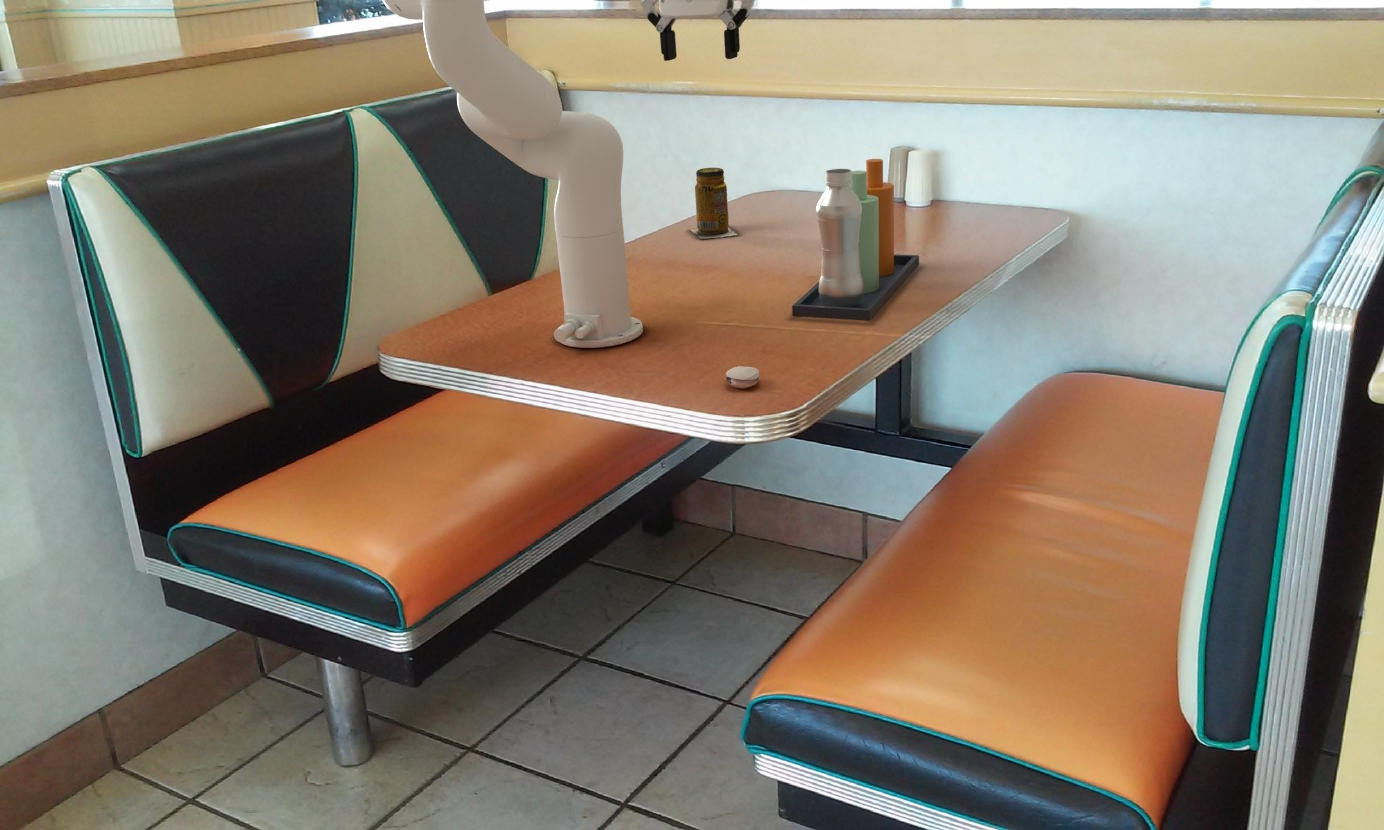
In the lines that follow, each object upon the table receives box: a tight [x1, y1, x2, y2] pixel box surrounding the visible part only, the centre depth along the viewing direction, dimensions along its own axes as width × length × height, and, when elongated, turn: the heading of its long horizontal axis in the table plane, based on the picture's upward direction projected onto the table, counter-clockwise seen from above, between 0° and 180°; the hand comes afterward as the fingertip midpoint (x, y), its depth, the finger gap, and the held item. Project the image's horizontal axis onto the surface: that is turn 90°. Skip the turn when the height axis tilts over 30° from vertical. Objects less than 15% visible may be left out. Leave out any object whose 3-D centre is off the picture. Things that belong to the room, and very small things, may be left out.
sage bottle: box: [850, 170, 879, 293], centre depth 178 cm, size 6×6×18 cm
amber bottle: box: [865, 158, 895, 277], centre depth 186 cm, size 6×6×18 cm
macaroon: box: [725, 365, 760, 389], centre depth 147 cm, size 4×5×2 cm
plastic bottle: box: [815, 168, 864, 307], centre depth 170 cm, size 6×7×20 cm
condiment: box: [690, 167, 738, 240], centre depth 222 cm, size 7×8×12 cm
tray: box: [791, 253, 920, 322], centre depth 182 cm, size 31×12×2 cm, turn 157°
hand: (700, 59), depth 170 cm, fingers open, 9 cm apart
